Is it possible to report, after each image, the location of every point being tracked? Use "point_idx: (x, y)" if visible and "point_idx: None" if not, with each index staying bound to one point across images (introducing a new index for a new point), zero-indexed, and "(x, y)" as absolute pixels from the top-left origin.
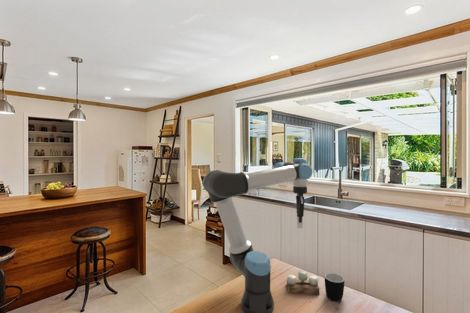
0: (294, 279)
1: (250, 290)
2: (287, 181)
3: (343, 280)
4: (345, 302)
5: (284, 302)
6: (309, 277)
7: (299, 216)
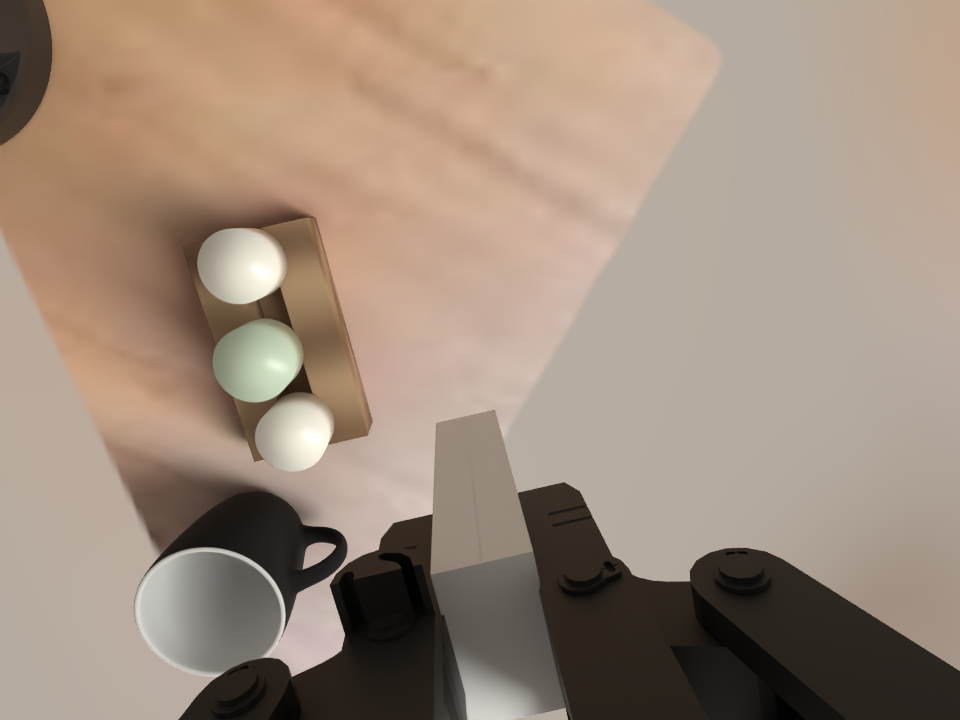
0: (210, 291)
1: None
2: None
3: (186, 671)
4: None
5: (69, 222)
6: (281, 409)
7: (315, 667)
